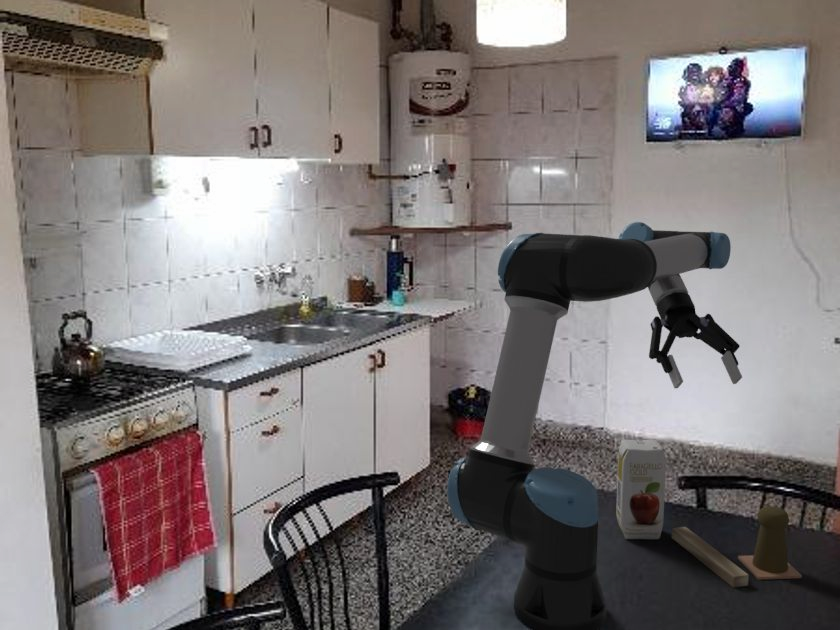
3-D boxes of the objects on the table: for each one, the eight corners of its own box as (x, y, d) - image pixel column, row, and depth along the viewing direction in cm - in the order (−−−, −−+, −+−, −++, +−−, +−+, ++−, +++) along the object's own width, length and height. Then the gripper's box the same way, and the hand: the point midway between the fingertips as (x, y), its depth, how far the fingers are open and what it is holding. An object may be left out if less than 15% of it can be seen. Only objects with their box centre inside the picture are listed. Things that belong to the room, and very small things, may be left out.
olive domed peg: (792, 574, 138) (796, 517, 136) (756, 571, 139) (760, 514, 137) (783, 558, 144) (787, 503, 142) (749, 556, 145) (752, 501, 143)
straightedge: (732, 587, 135) (733, 576, 134) (671, 537, 154) (671, 528, 153) (747, 585, 135) (748, 574, 135) (684, 535, 154) (685, 526, 154)
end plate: (758, 579, 137) (758, 577, 137) (737, 558, 145) (737, 555, 145) (801, 578, 137) (801, 575, 137) (778, 556, 145) (778, 554, 145)
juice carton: (613, 524, 160) (616, 437, 157) (655, 525, 160) (659, 437, 156) (621, 541, 153) (625, 450, 149) (665, 541, 152) (669, 450, 149)
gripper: (714, 308, 175) (752, 387, 163) (614, 313, 170) (646, 396, 158) (730, 288, 169) (770, 369, 157) (627, 292, 164) (661, 377, 152)
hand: (708, 383), depth 157 cm, fingers open, 13 cm apart
